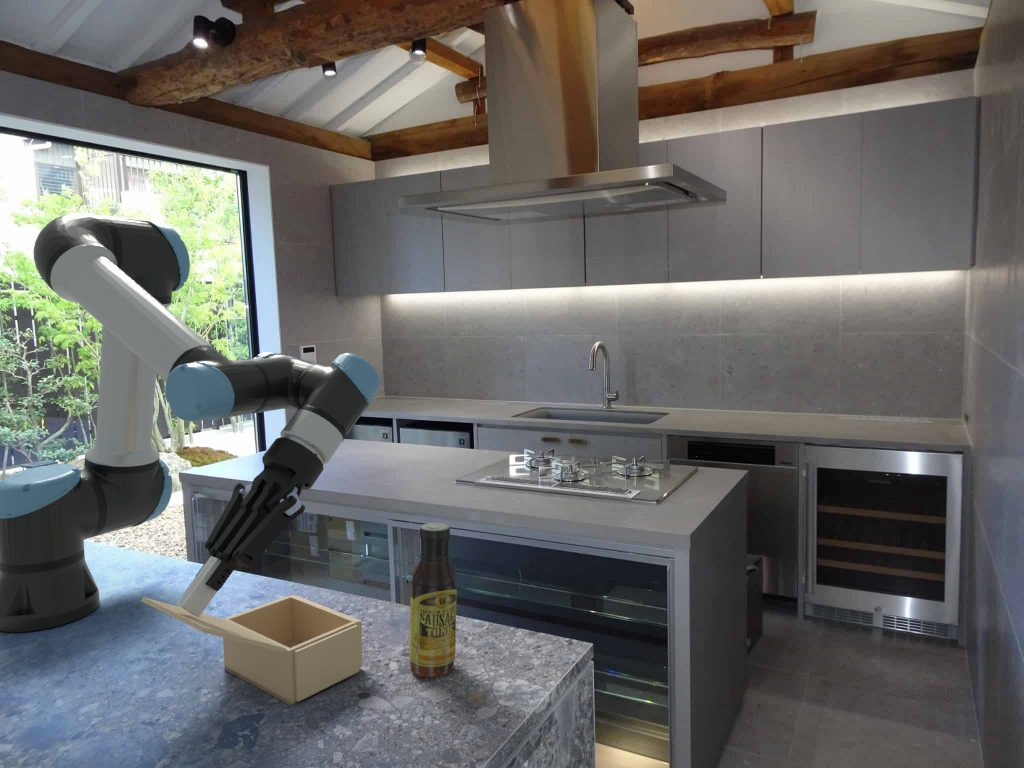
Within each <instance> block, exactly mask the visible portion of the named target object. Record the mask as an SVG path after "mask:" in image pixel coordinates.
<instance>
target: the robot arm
mask: <svg viewBox="0 0 1024 768" xmlns="http://www.w3.org/2000/svg"><path fill="white" fill-rule="evenodd" d="M33 261H34V264H35V268H36V270H37V272H38V274H39V276H40V278H41V279H42V280H43V282H44V283H45V284H46V285H47V286H48V287H49V288H50V289H51V290H52V291H53V292H54V293H55V294H56V295H58V296H59V298H61V299H64V300H65V301H68V302H71V303H77V304H79V306H80V307H82V308H83V309H84V310H86V312H87V313H88V314H90V315H91V316H92V317H93V318H94V319H95V320H96V321H98V323H100V324H101V325H102V331H101V332H102V333H101V347H100V349H101V350H100V365H99V380H98V381H99V382H98V396H97V397H98V398H97V399H98V402H97V415H96V433H95V444H94V445H92V446H91V447H90V448H88V450H86V452H85V453H84V462H83V463H84V464H83V469H80V468H79V467H78V466H77V465H76V464H72V463H56V464H55V463H53V464H49V465H46V466H44V465H41V466H36V467H31V468H28V469H24V470H22V471H18V472H15V473H12V474H11V475H9V476H6V477H4V478H3V479H2V480H1V481H0V632H2V633H3V632H5V633H25V632H35V631H41V630H47V629H50V628H55V627H59V626H63V625H65V624H69V623H72V622H75V621H77V620H78V621H79V620H80V619H82V618H84V617H87V616H88V615H90V614H92V613H93V612H95V611H96V610H97V609H96V608H97V606H98V605H99V606H100V604H99V603H100V602H101V601H100V590H99V588H98V585H97V583H96V581H95V578H94V576H93V574H92V572H91V570H90V567H89V566H88V563H87V562H86V557H85V541H84V540H87V539H91V538H93V537H94V538H95V537H98V536H102V535H105V534H110V533H113V532H116V531H117V532H118V531H120V530H125V529H127V528H132V527H133V528H134V527H138V526H140V525H142V524H144V523H146V522H150V521H152V520H154V519H156V518H158V517H159V516H160V515H162V514H163V513H164V511H165V510H166V508H168V505H169V503H170V502H171V498H172V494H173V478H172V475H170V474H169V472H170V469H169V467H168V465H167V464H166V462H165V461H164V460H162V459H161V458H160V457H161V455H160V452H159V451H158V450H157V449H156V448H155V447H154V446H153V445H152V436H153V424H154V411H155V409H154V408H155V395H156V382H157V376H158V377H160V378H161V379H162V380H163V381H164V382H165V384H164V385H165V386H164V394H165V395H164V396H165V399H166V402H167V403H168V404H169V405H170V411H171V412H172V413H173V414H174V416H175V417H177V418H179V419H181V420H182V421H185V422H200V421H201V422H202V421H203V422H212V421H219V420H222V419H227V418H233V417H239V416H240V417H241V416H244V415H250V414H258V413H264V412H272V411H276V410H277V411H278V410H285V409H286V410H291V411H294V412H295V413H294V414H293V415H292V416H291V418H290V420H289V421H288V422H287V423H286V424H285V426H284V427H283V429H281V431H280V432H279V434H280V437H277V438H275V439H274V441H273V442H272V443H271V445H270V446H269V447H268V449H267V450H266V451H265V453H264V454H263V455H262V459H261V462H262V464H263V469H262V471H261V472H260V473H259V474H257V475H256V476H255V477H254V479H253V480H252V482H251V483H249V484H247V485H243V484H242V483H241V482H239V483H236V485H235V486H234V487H233V491H232V494H231V497H230V500H229V501H228V504H227V505H226V507H225V509H224V510H223V512H222V514H220V517H219V519H218V520H217V522H216V524H215V525H214V528H213V529H212V531H211V533H210V534H209V536H208V538H207V540H206V542H205V543H204V548H205V549H206V550H207V552H208V555H209V557H208V558H207V559H206V561H205V562H204V564H203V565H202V566H201V568H200V569H199V570H198V572H197V574H195V576H194V578H193V580H192V581H191V582H190V583H189V585H188V587H186V589H185V591H184V592H183V594H181V596H180V598H178V600H177V602H176V603H175V604H176V606H178V607H182V608H183V609H185V610H186V611H188V612H189V613H191V614H192V615H195V616H197V617H200V615H201V614H202V613H204V611H205V609H206V608H207V607H208V606H209V604H210V602H211V601H212V600H213V598H214V597H215V596H216V594H217V593H218V592H219V591H220V590H221V589H222V587H223V586H224V584H225V583H226V582H227V581H228V579H229V578H230V576H231V575H232V573H233V572H234V570H238V569H240V567H244V568H247V569H249V568H250V567H251V566H252V565H253V564H254V563H255V562H256V561H257V560H258V559H259V558H260V557H261V556H262V554H263V553H264V552H266V550H267V549H268V548H269V546H271V544H272V543H273V542H275V540H276V539H277V538H278V536H279V535H280V534H281V533H282V532H283V531H284V530H285V529H286V528H287V526H289V524H290V523H291V522H293V520H295V519H296V518H298V516H300V515H302V514H303V513H304V512H305V510H306V506H305V505H304V504H303V503H302V502H301V501H300V499H299V497H300V496H301V493H302V491H307V490H310V489H311V488H312V487H313V486H314V484H315V483H316V482H317V480H318V479H319V477H320V475H321V474H322V473H323V471H324V465H327V464H328V463H329V462H330V460H331V459H332V458H333V456H334V454H335V453H336V451H338V449H339V447H340V446H341V444H342V443H343V442H344V440H345V438H347V435H348V434H349V433H350V431H351V430H352V428H353V427H354V426H355V424H356V423H357V421H358V420H359V419H360V417H361V416H362V415H363V413H364V412H365V411H366V410H367V408H368V407H369V406H370V405H371V402H372V400H373V398H374V397H375V396H376V394H377V391H378V390H379V388H380V386H381V376H380V375H379V373H378V371H377V369H376V368H375V367H374V366H373V365H372V364H371V363H370V362H369V361H367V360H366V359H365V358H363V357H361V356H359V355H357V354H354V353H352V352H346V353H341V354H339V355H338V356H337V357H336V358H335V359H334V360H332V361H331V364H330V365H327V364H323V363H322V364H320V363H317V362H312V361H310V360H305V359H302V358H297V357H295V356H292V355H289V354H288V353H282V352H281V353H280V352H279V353H278V352H272V351H264V352H260V353H259V354H257V355H256V356H255V357H253V358H252V359H251V358H250V359H248V358H247V359H235V360H234V359H233V360H231V359H228V358H226V357H225V356H224V355H223V354H222V353H221V352H219V351H218V350H217V349H215V347H213V346H212V345H211V344H209V343H208V342H207V341H206V340H205V339H203V337H201V336H199V334H198V333H197V332H196V331H194V330H193V329H192V328H191V327H189V326H188V325H187V324H186V323H185V322H183V320H181V319H180V318H179V317H178V316H176V315H175V314H174V313H173V312H172V311H171V310H169V308H168V307H170V306H171V305H172V298H173V293H175V292H177V291H178V290H180V289H182V288H183V287H184V286H185V283H187V281H188V279H189V275H190V269H191V264H190V263H191V262H190V255H189V250H188V248H187V246H186V244H185V242H184V241H183V239H181V236H180V234H179V233H178V232H177V231H176V230H175V229H174V228H172V227H171V226H169V225H168V224H165V223H161V222H158V221H157V222H156V221H153V220H148V219H145V218H144V219H143V218H142V219H141V218H140V219H139V218H132V217H124V216H123V217H121V216H113V215H106V214H105V215H103V214H95V213H93V212H92V213H91V212H84V211H83V212H81V211H80V212H71V213H67V214H63V215H60V216H57V217H55V218H53V219H52V220H51V221H49V222H47V224H46V225H44V227H42V229H41V230H40V232H39V233H38V235H37V237H36V240H35V241H34V246H33ZM99 606H98V607H99ZM95 609H96V610H95ZM92 611H93V612H92ZM91 612H92V613H91Z"/></svg>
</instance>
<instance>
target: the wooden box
mask: <svg viewBox="0 0 1024 768" xmlns="http://www.w3.org/2000/svg"><path fill="white" fill-rule="evenodd" d="M224 619H225V620H227V621H229V622H231V623H233V624H235V625H237V626H239V627H242V628H244V629H246V630H248V631H250V632H252V633H254V634H256V635H259V636H261V637H263V638H265V639H267V640H269V641H271V642H274V643H276V644H278V645H280V646H282V647H284V648H286V650H285V652H280V651H276V650H272V649H268V648H264V647H260V646H256V645H252V644H248V643H244V642H240V641H236V640H232V639H228V638H224V637H222V639H223V642H222V643H223V664H224V665H223V668H224V670H225V671H226V672H229V673H230V674H232V675H233V676H236V677H238V678H239V679H240V680H243V681H244V682H245V683H246V682H247V683H249V684H250V685H252V686H254V687H256V688H258V689H259V690H261V691H262V692H265V693H267V694H269V695H270V696H272V697H274V698H276V699H278V700H279V701H282V702H283V703H285V704H287V705H288V706H290V707H291V706H293V705H295V704H297V703H299V702H301V701H303V700H305V699H307V698H309V697H311V696H312V695H315V694H317V693H319V692H321V691H323V690H325V689H327V688H330V686H333V685H335V684H337V683H339V682H342V681H343V680H345V679H347V678H350V677H351V676H353V675H355V674H357V673H359V672H360V671H361V667H363V635H362V634H363V632H362V620H360V619H358V618H355V617H352V616H350V615H347V614H346V613H343V612H340V611H338V610H334V609H332V608H329V607H328V606H324V605H322V604H320V603H317V602H314V601H311V600H309V599H306V598H304V597H301V596H298V595H293V594H291V595H288V596H284V597H281V598H279V599H276V600H273V601H270V602H267V603H264V604H262V605H259V606H256V607H253V608H250V609H248V610H245V611H242V612H239V613H237V614H233V615H231V616H228V617H225V618H224Z"/></svg>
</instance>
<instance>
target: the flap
mask: <svg viewBox="0 0 1024 768" xmlns="http://www.w3.org/2000/svg"><path fill="white" fill-rule="evenodd" d="M140 601H141V602H142V603H144V604H146V605H148V606H150V607H153V608H154V609H156V610H158V611H160V612H162V613H163V614H166V615H168V616H170V617H172V618H174V619H176V620H178V621H179V622H182V623H184V624H186V625H188V627H191V628H193V629H195V630H197V631H199V632H201V633H203V634H209V635H212V636H216V637H220V638H223V637H224V638H228V639H232V640H236V641H240V642H244V643H248V644H252V645H256V646H260V647H264V648H268V649H272V650H276V651H280V652H285V650H286V648H284V647H282V646H280V645H278V644H276V643H274V642H271V641H269V640H267V639H265V638H263V637H261V636H259V635H256V634H254V633H252V632H250V631H248V630H246V629H244V628H242V627H239V626H237V625H235V624H233V623H231V622H229V621H227V620H225V618H222V617H217V616H214V615H211V614H206V613H204V612H203V613H202V614H201V615H200V617H197V616H195V615H192V614H191V613H189V612H188V611H186V610H185V609H183V608H182V607H180V606H178V605H174V604H170V603H167V602H162V601H158V600H155V599H153V598H148V597H145V596H143V597H142V598H141V600H140Z"/></svg>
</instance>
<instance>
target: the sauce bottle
mask: <svg viewBox="0 0 1024 768" xmlns="http://www.w3.org/2000/svg"><path fill="white" fill-rule="evenodd" d="M419 537H420V539H421V541H420V555H419V559H420V561H419V562H418V564H417V565H416V566H415V567H414V571H413V574H412V578H411V593H410V614H409V617H410V618H409V654H408V655H409V656H408V658H409V660H410V661H409V664H410V665H409V666H410V671H411V673H413V674H414V675H415V676H416V677H417V676H418V677H422V678H427V679H433V678H434V679H435V678H440V677H444V676H445V675H448V674H449V673H451V672H452V670H453V668H454V664H455V659H456V646H457V645H456V643H457V639H456V637H457V623H456V622H457V595H458V594H457V593H458V591H457V590H458V589H457V581H456V571H455V568H454V566H453V564H452V562H451V560H450V553H449V539H450V537H451V527H450V525H449V524H447V523H443V522H429V523H424V524H422V525H421V526H420V529H419Z"/></svg>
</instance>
